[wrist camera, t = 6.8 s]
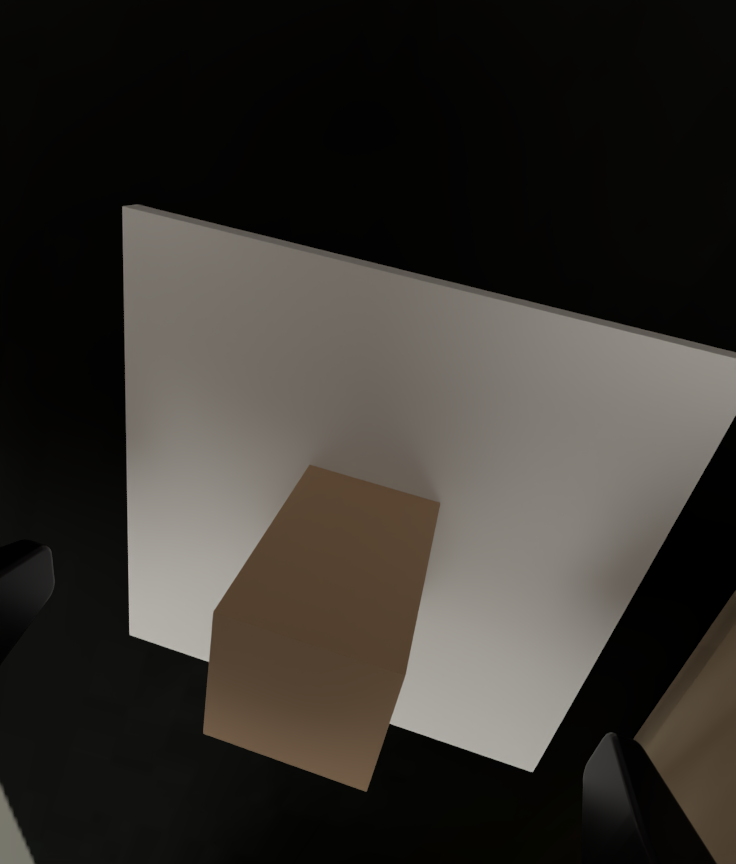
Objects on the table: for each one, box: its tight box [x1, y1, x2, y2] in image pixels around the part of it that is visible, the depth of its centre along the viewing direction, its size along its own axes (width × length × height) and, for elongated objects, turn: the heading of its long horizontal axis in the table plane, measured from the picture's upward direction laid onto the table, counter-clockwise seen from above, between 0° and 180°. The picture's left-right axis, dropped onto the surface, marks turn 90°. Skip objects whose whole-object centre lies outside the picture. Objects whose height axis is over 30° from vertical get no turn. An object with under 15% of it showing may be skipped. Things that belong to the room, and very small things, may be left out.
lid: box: [122, 204, 736, 792], centre depth 10 cm, size 10×10×5 cm
